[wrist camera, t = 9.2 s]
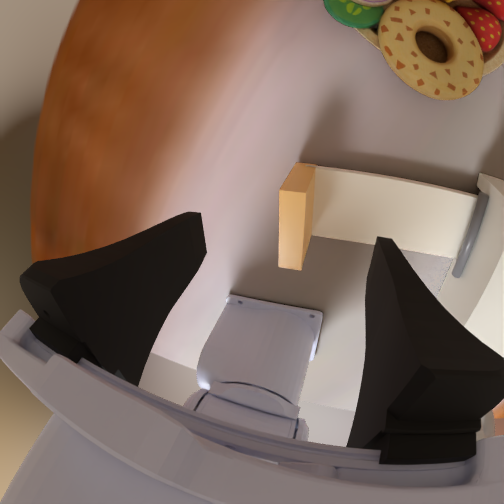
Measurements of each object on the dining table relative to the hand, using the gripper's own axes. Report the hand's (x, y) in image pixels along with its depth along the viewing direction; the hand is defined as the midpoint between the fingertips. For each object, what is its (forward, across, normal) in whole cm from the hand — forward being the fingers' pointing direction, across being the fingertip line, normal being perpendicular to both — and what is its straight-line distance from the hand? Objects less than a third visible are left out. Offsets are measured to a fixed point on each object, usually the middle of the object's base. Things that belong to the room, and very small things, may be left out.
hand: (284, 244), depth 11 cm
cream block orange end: (+9, -6, +2) cm, 11 cm away
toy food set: (+10, -7, -14) cm, 19 cm away
